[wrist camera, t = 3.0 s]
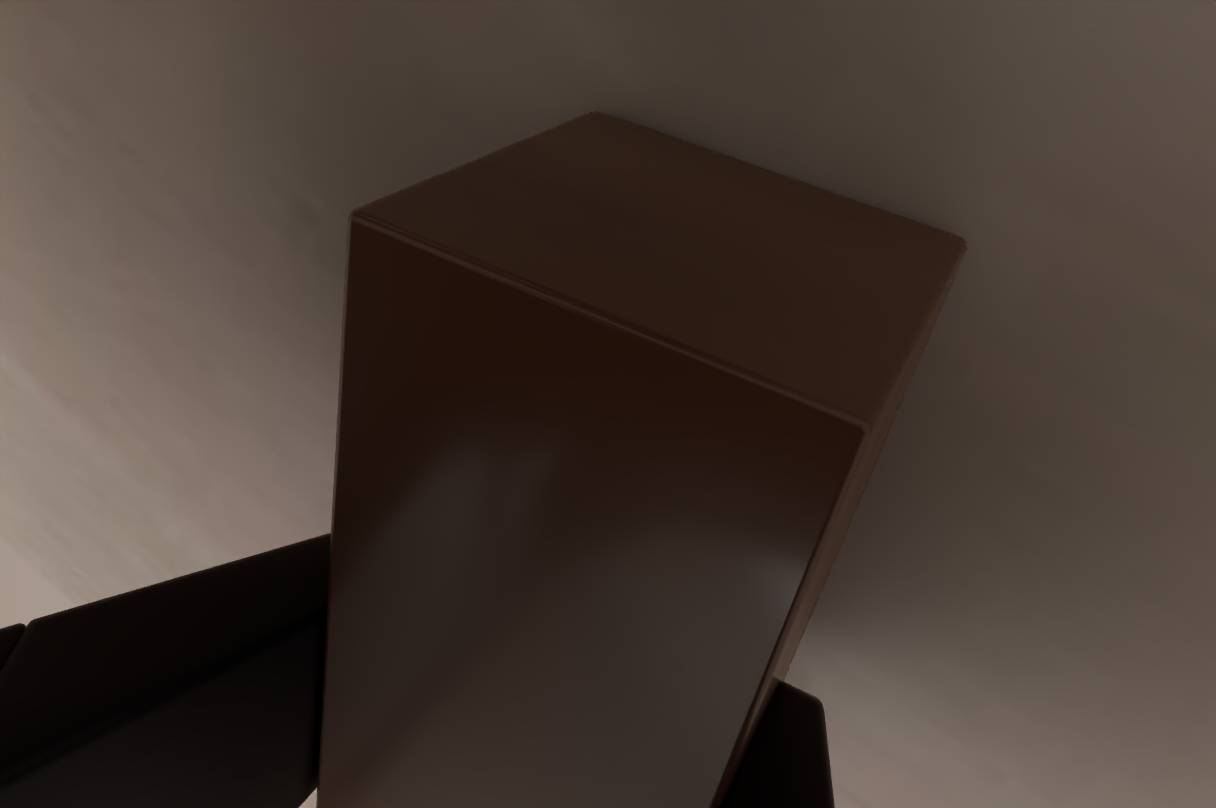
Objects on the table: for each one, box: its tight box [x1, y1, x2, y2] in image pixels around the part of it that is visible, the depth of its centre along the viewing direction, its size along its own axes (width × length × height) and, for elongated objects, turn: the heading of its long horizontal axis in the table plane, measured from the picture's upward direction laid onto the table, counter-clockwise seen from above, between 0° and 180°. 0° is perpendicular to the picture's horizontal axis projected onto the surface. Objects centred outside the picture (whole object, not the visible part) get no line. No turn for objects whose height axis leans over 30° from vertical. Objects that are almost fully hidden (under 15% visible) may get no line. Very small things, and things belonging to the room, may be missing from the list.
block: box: [316, 111, 967, 808], centre depth 8 cm, size 8×3×3 cm, turn 168°
